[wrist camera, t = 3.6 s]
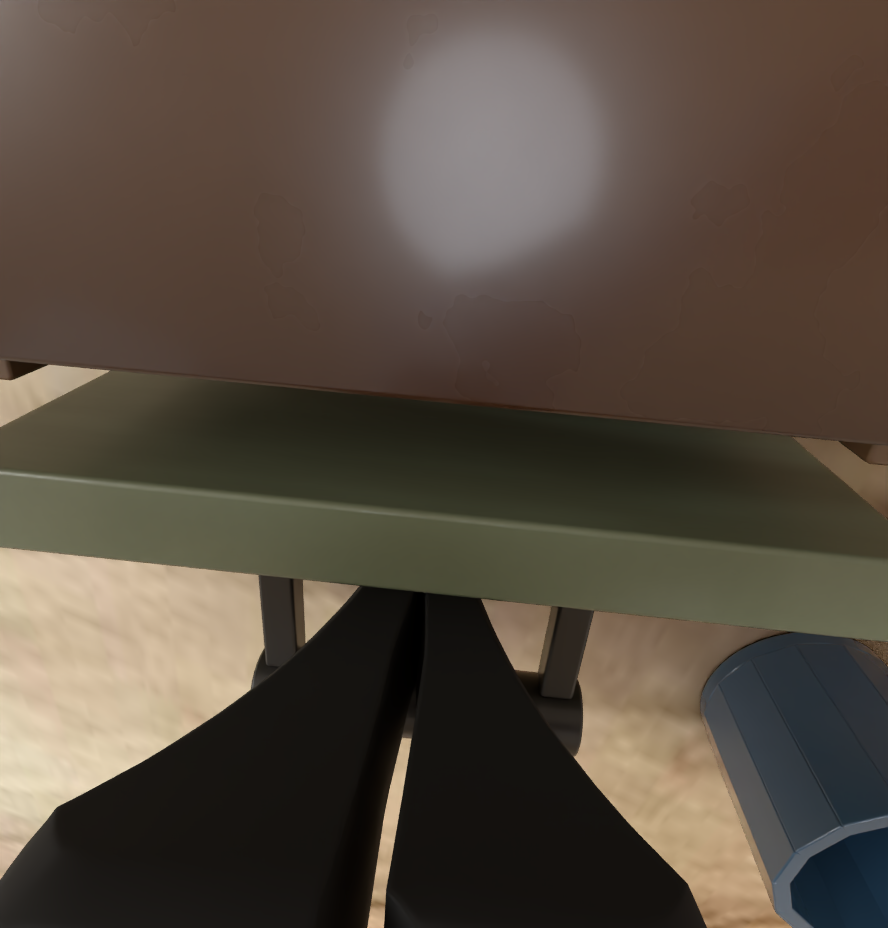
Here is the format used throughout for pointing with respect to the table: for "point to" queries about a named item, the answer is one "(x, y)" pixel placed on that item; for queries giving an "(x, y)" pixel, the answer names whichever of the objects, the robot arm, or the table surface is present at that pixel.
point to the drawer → (448, 510)
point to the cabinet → (459, 202)
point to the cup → (808, 772)
